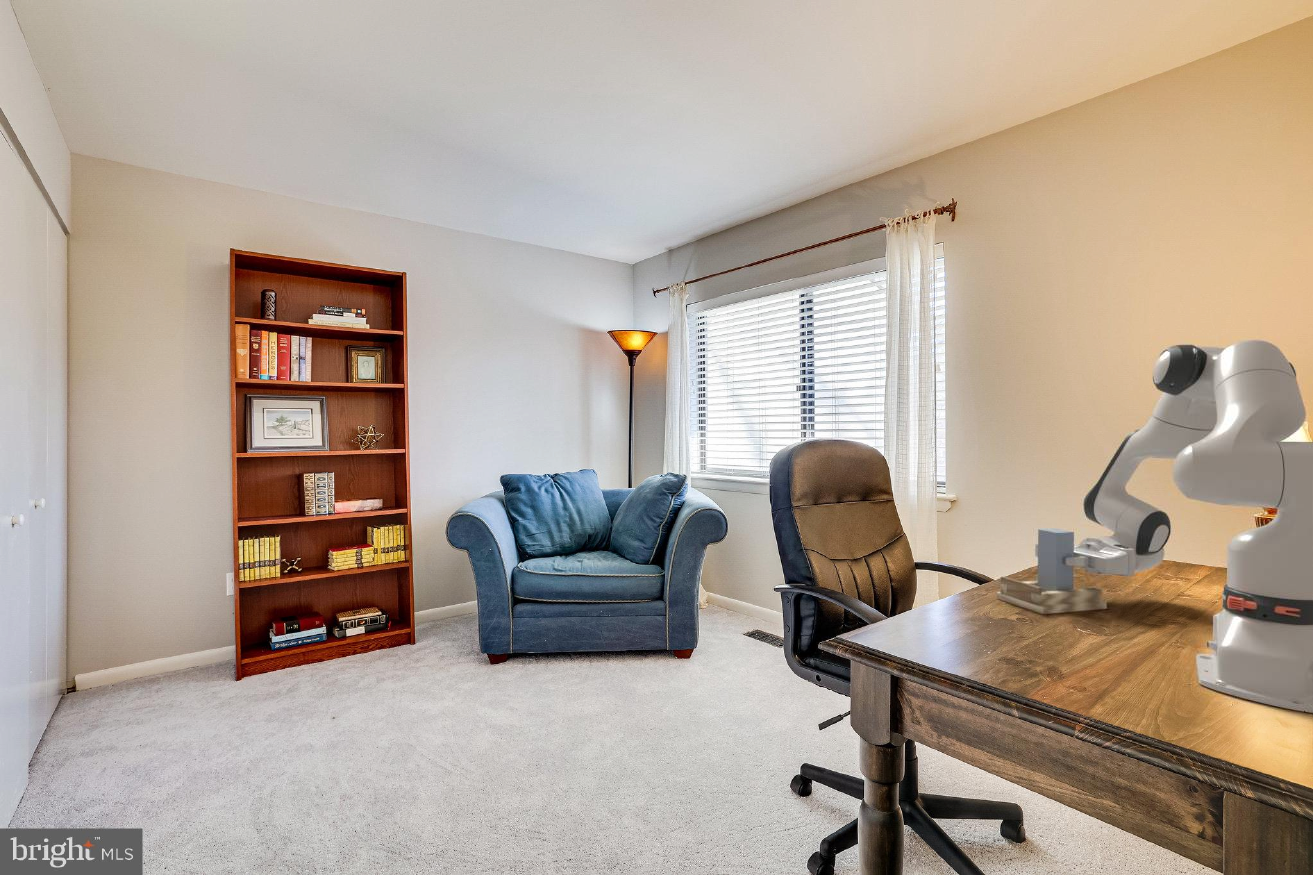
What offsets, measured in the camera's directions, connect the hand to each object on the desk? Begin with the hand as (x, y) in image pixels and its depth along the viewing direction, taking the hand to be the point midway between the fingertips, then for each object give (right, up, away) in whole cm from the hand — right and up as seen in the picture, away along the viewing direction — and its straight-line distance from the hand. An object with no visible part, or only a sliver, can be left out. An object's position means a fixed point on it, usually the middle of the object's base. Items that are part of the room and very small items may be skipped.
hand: (1052, 558), depth 146 cm
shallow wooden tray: (-1, -10, 0) cm, 11 cm away
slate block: (+1, -7, 0) cm, 8 cm away
